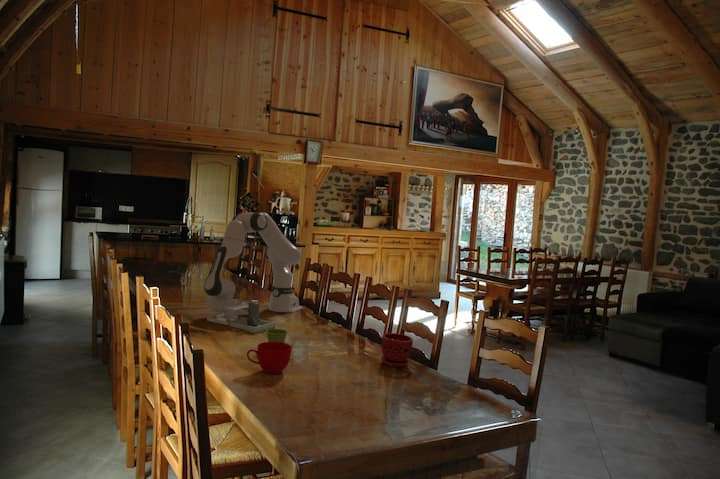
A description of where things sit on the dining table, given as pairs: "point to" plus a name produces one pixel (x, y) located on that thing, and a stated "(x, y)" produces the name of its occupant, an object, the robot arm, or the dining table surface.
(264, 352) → the ceramic cup
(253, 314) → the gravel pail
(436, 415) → the dining table surface
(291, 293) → the robot arm
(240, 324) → the bin
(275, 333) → the plant pot
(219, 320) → the tray
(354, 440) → the dining table surface
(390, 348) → the plant pot
